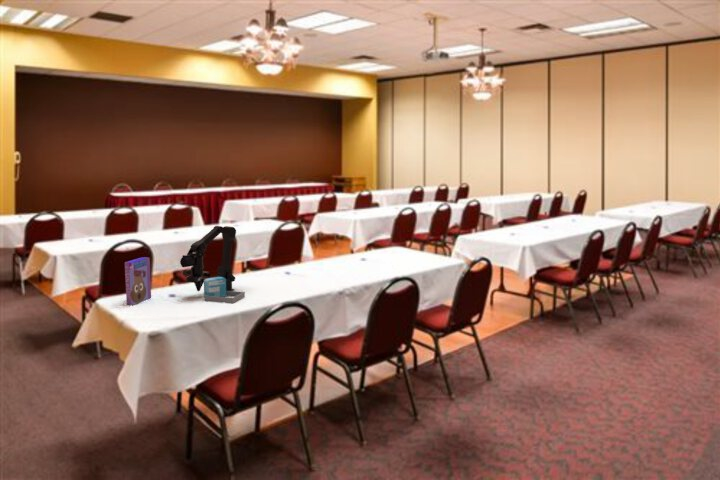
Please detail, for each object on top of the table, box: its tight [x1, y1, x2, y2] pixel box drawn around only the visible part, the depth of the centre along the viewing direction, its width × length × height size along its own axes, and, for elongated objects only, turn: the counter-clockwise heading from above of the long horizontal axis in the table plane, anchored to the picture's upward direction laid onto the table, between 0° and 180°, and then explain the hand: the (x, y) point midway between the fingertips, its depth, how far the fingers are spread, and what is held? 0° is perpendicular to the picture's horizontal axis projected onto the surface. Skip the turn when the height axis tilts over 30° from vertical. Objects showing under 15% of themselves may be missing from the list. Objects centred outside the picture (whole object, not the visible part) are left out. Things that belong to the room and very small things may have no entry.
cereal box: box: [124, 256, 152, 306], centre depth 343 cm, size 17×5×24 cm, turn 168°
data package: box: [203, 276, 227, 299], centre depth 352 cm, size 12×4×12 cm, turn 131°
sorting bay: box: [204, 290, 246, 304], centre depth 351 cm, size 15×18×3 cm
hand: (198, 291), depth 355 cm, fingers closed
